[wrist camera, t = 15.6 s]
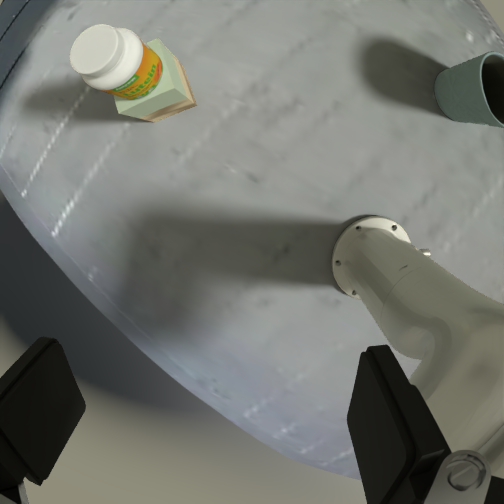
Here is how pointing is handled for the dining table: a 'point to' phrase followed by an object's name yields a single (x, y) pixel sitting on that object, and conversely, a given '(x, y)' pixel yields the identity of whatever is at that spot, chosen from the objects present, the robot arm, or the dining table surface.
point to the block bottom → (177, 106)
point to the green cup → (473, 90)
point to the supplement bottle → (116, 62)
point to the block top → (165, 92)
